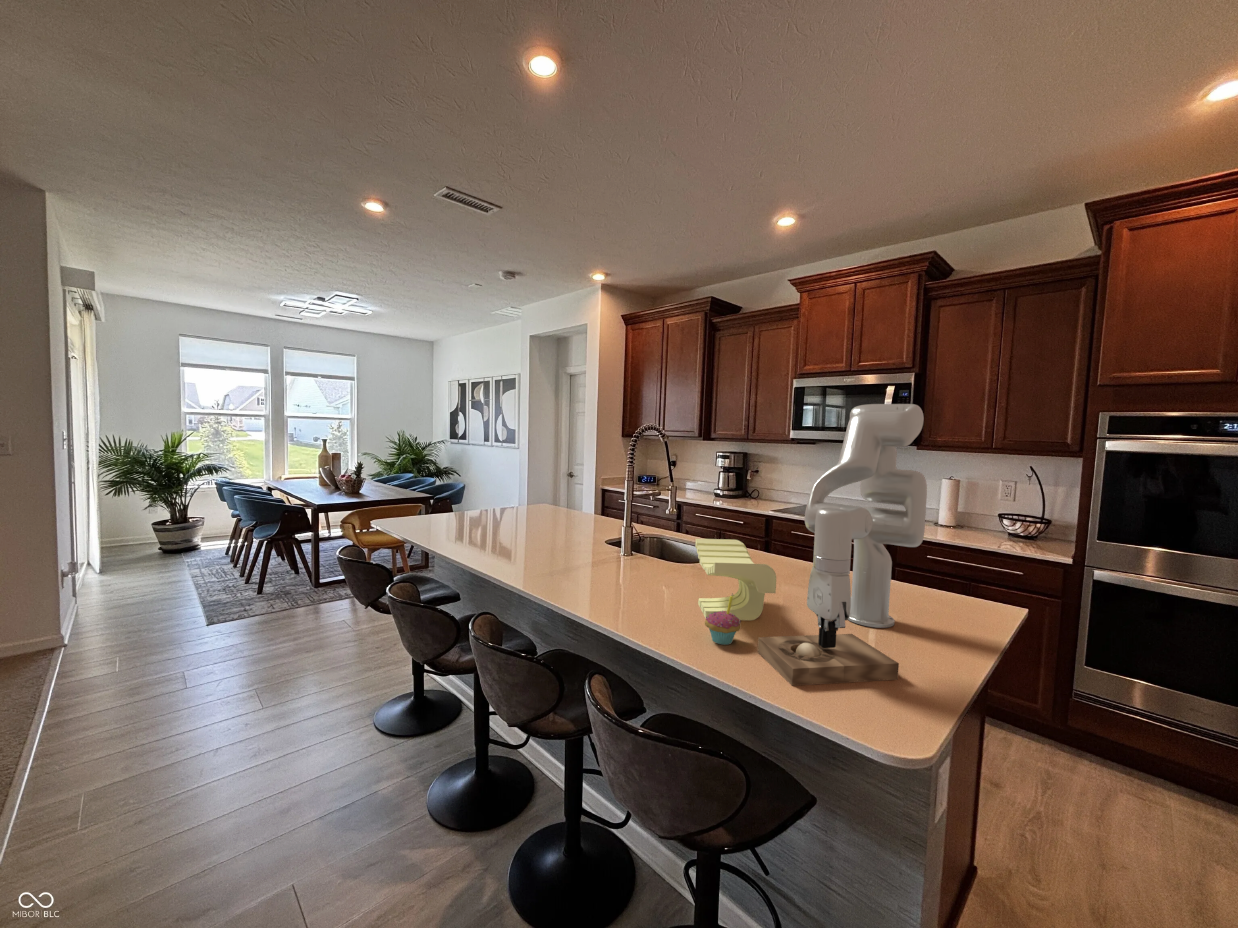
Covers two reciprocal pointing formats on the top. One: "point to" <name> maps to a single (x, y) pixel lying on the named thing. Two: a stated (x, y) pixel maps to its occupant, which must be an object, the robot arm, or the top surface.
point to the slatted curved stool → (737, 564)
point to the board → (827, 660)
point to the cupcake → (723, 625)
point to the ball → (807, 650)
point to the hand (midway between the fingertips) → (826, 646)
